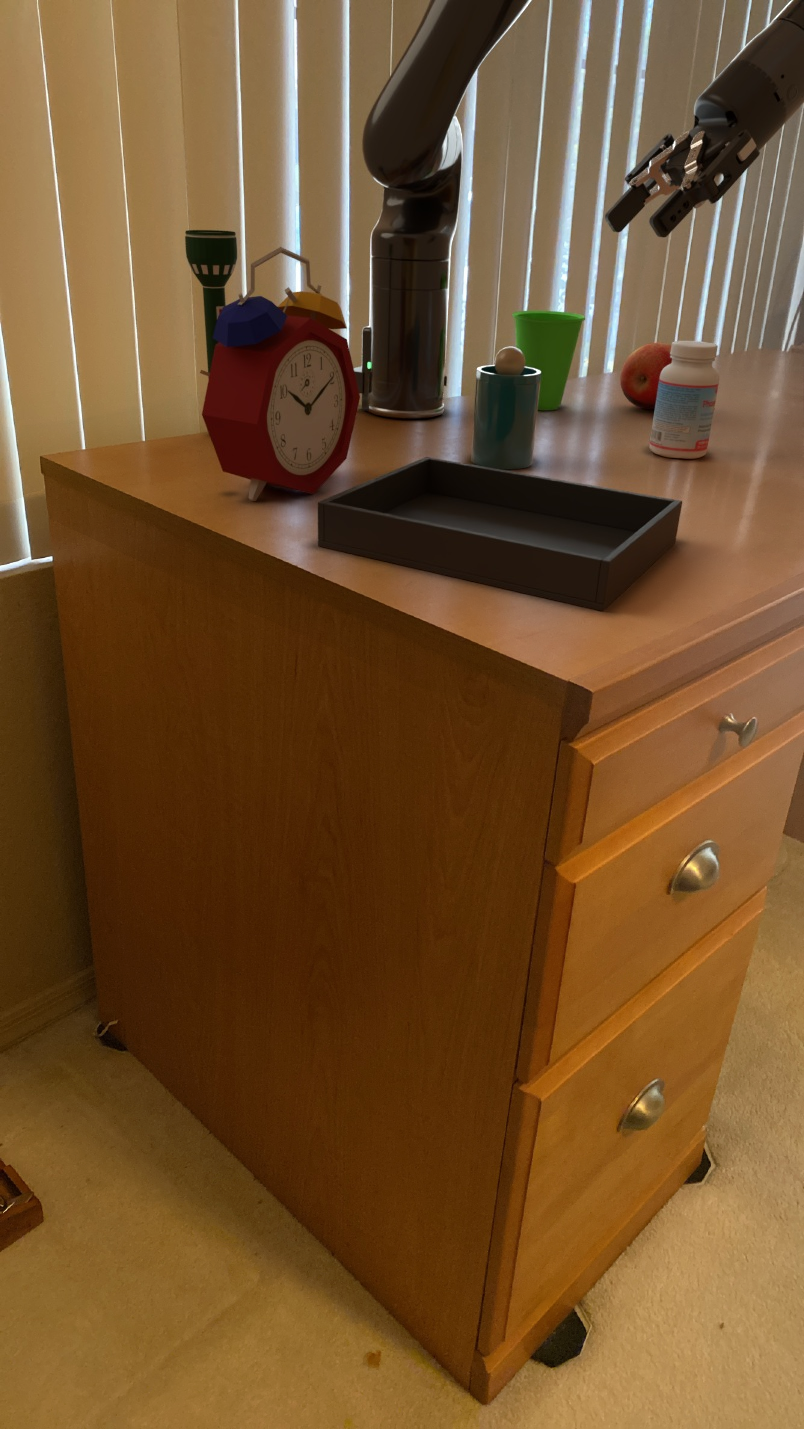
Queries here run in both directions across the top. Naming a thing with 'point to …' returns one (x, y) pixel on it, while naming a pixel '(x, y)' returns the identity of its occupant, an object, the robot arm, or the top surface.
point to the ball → (509, 361)
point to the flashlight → (211, 273)
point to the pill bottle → (685, 401)
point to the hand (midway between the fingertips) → (632, 227)
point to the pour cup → (505, 418)
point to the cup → (548, 349)
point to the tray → (503, 529)
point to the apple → (644, 373)
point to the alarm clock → (281, 388)
